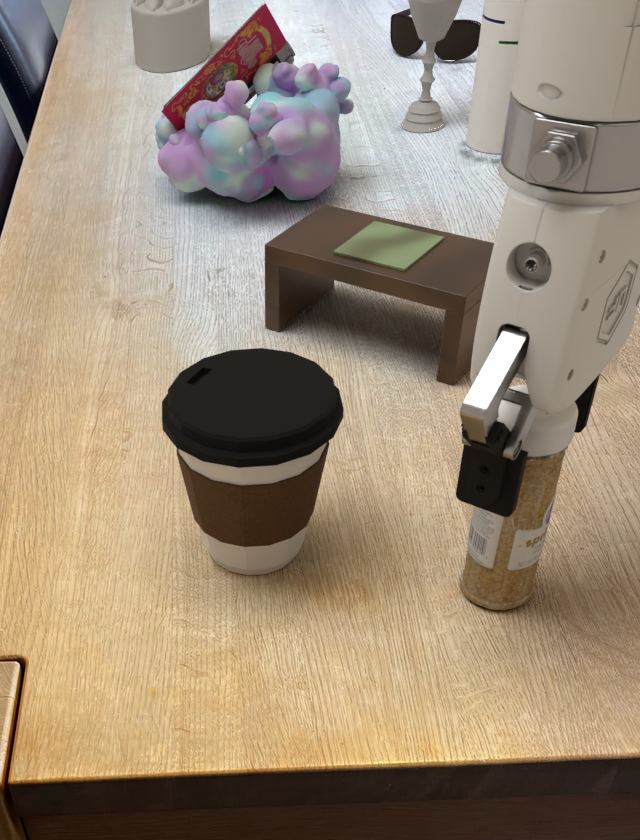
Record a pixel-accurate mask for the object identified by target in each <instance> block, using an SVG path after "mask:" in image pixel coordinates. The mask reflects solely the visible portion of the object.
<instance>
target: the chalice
mask: <svg viewBox="0 0 640 840" xmlns="http://www.w3.org/2000/svg"><path fill="white" fill-rule="evenodd" d="M407 2H408V6H409V8H410V12H411V15H410V17H412V19H413V22H414V25H415V28H416V31H417V34H418V37H419V39H421V40H423V41H424V43H425V48H426V49H425V54H424V56H423V59H422V60H421V62H422V64H423V72H422V76H421V77H420V78H419V81H420V83H421V94H420V96H419V97H418V100H414V101H413V102H412V103H411V104H410V105H409V106H408V108H407V111H406V113H405V115H404V118H403V120H402V122H401V124H400V127H401V129H404V130H405V131H408V132H410V133H411V132H412V133H421V134H422V133H432V132H437V131H439V130H442V129H443V128H445V125H446V122H445V120H444V118H443V116H444V115H443V113H442V107H441V105H440V104H439V102H438V101H436V100H434V99H433V97H432V96H431V89H432V86H433V83H434V82H435V81H436V78H435V77H434V75H433V74H434V73H433V69H434V67H435V64H436V63H437V58H436V57H435V55H436V54H435V52H434V48H435V45H436V42H437V41H440V40H442V39H443V38H444V37H445V35H446V33H447V32H448V30H449V28H450V26H451V24H452V22H453V20H455V18H456V16H457V15H458V12H459V9H460V7H461V4H462V2H463V0H407ZM402 124H403V125H402ZM442 124H444V125H442ZM441 125H442V126H441ZM440 126H441V127H440ZM438 127H439V128H438ZM434 128H436V129H434ZM429 129H430V130H429ZM431 129H432V130H431Z"/></svg>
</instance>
